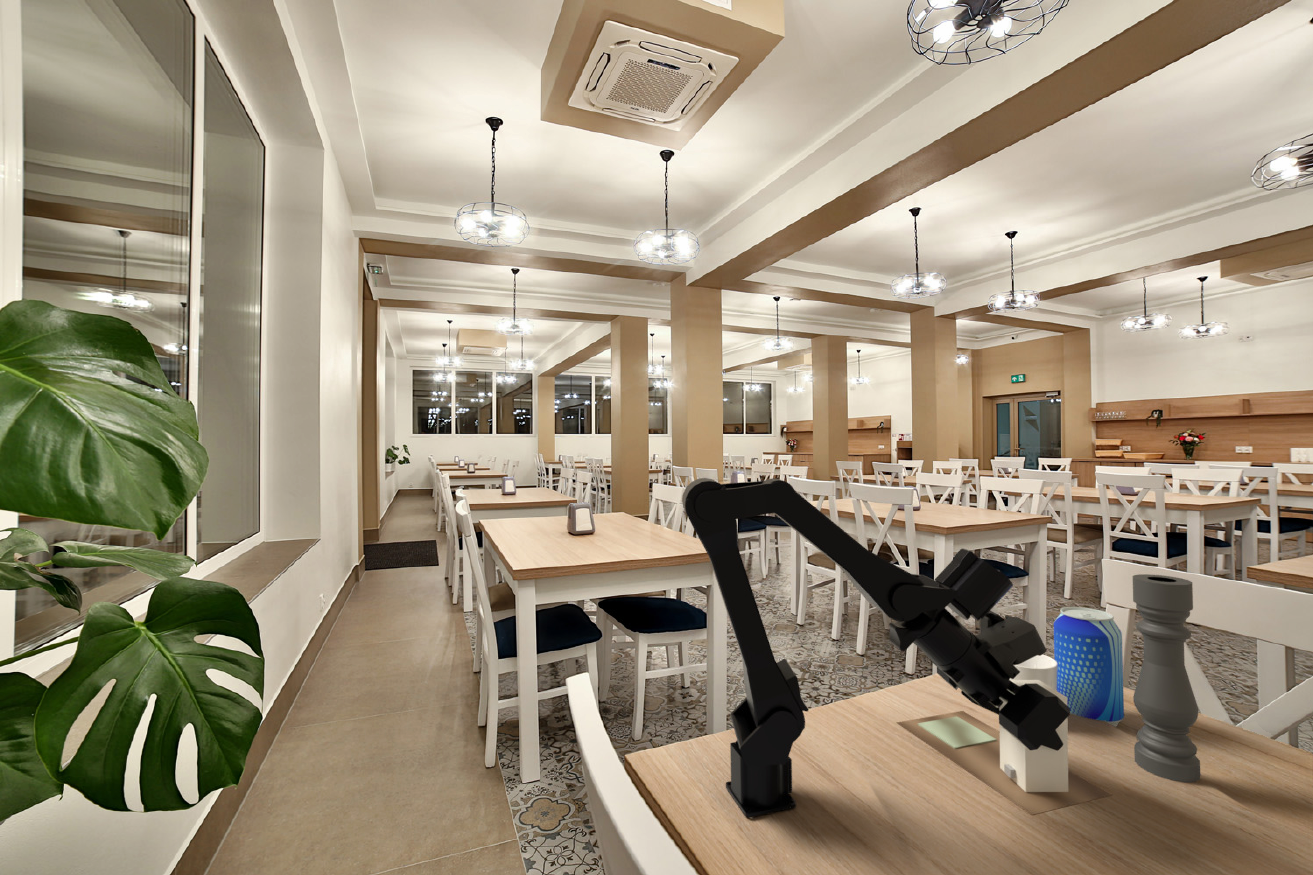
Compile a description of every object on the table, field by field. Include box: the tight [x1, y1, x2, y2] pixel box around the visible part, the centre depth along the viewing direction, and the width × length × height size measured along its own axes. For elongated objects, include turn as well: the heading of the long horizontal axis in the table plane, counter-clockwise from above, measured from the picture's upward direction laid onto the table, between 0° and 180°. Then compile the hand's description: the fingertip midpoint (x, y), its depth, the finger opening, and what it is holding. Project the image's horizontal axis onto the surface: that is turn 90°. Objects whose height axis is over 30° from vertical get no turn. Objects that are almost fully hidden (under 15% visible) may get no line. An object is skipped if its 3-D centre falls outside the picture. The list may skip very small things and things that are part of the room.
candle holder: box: [1132, 573, 1201, 783], centre depth 72 cm, size 6×6×25 cm
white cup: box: [1009, 654, 1058, 691], centre depth 86 cm, size 8×8×10 cm
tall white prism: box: [999, 680, 1069, 792], centre depth 70 cm, size 6×5×11 cm
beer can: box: [1053, 606, 1125, 727], centre depth 88 cm, size 8×8×16 cm
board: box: [896, 710, 1113, 816], centre depth 75 cm, size 12×22×6 cm, turn 16°
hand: (1044, 735), depth 70 cm, fingers closed on tall white prism, 5 cm apart
